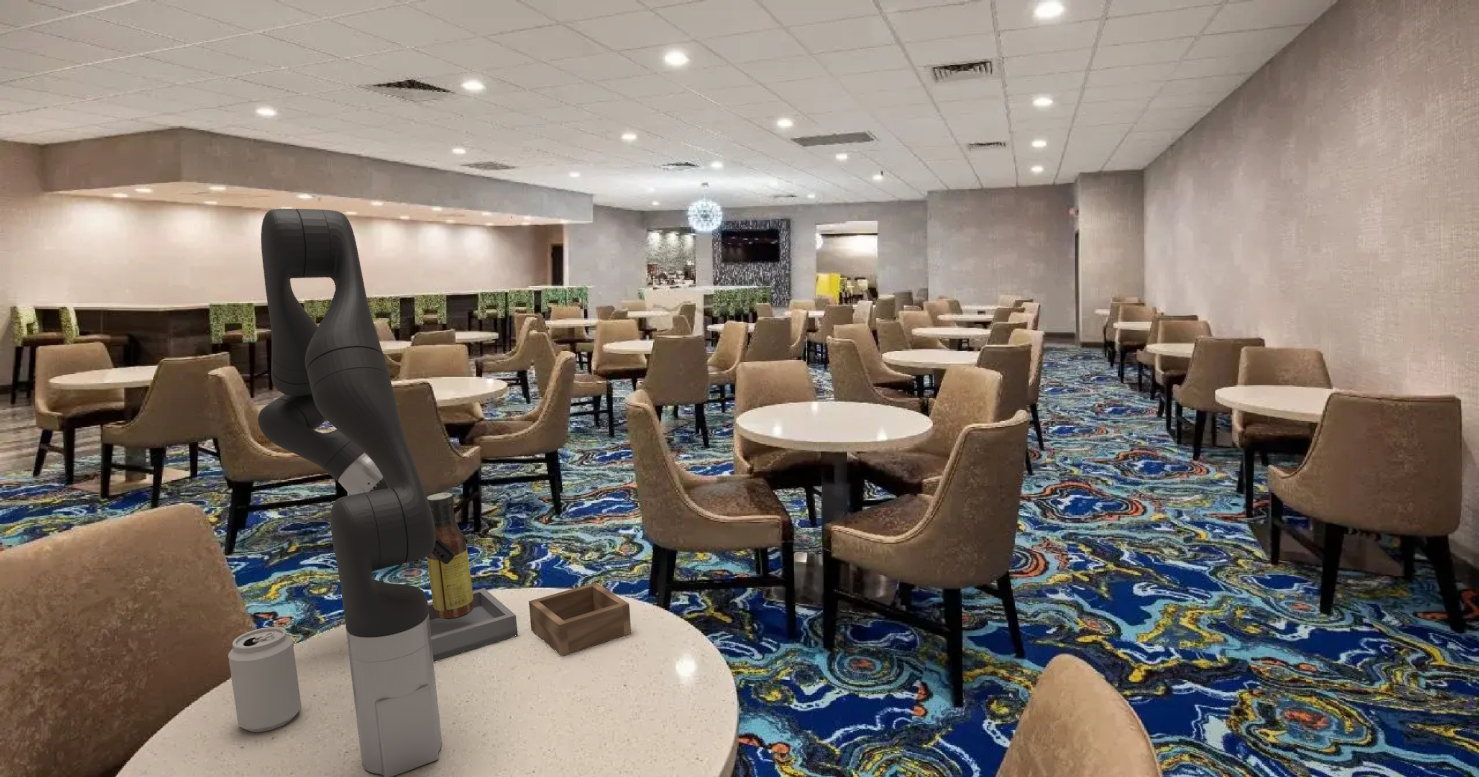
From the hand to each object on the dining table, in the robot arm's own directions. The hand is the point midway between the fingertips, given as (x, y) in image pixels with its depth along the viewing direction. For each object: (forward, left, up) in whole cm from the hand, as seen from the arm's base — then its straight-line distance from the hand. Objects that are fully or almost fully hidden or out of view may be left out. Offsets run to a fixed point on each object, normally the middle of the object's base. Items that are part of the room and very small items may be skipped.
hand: (458, 552), depth 133 cm
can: (-9, +29, -14) cm, 34 cm away
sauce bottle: (+1, +1, -10) cm, 11 cm away
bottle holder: (-12, -15, -14) cm, 24 cm away
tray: (+1, +1, -14) cm, 14 cm away
